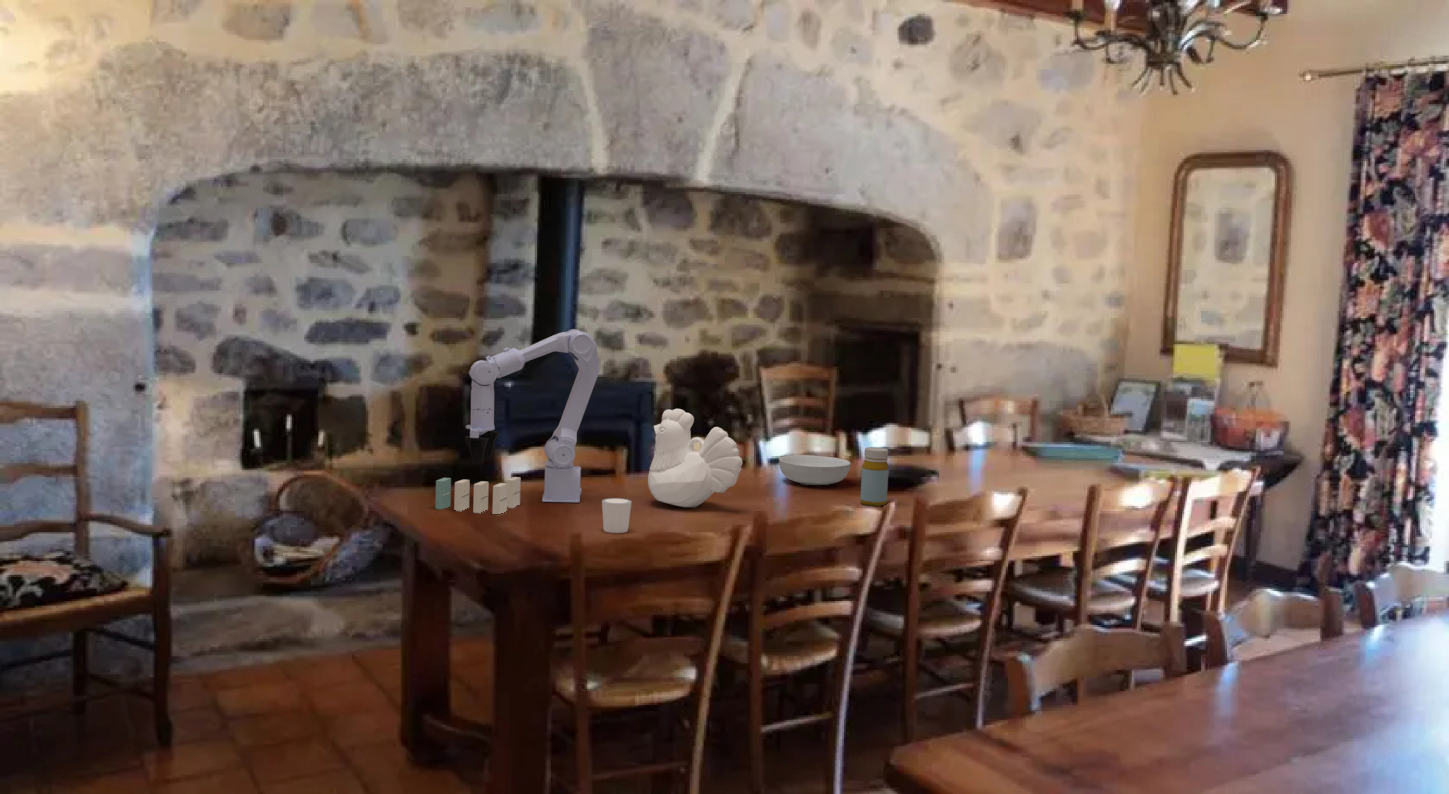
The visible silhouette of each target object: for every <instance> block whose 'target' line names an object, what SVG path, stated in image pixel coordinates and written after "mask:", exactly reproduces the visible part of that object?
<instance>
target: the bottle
mask: <svg viewBox="0 0 1449 794" xmlns="http://www.w3.org/2000/svg"><path fill="white" fill-rule="evenodd" d="M863 458H864V460H863V463H862V469H861V481H860V483H861V484H860V503H861V504H862V505H865V506H868V507H882V506H881V505H884V504H885V503H886V504H887V500H888V487H889V486H888V483H889V464H888V458H889V450H888V449H887V448H884V447H877V446H876V447H873V446H871V447H870V446H868V447H865V448H864V457H863ZM886 504H885V505H886ZM885 505H884V506H885Z"/></svg>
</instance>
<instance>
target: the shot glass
mask: <svg viewBox="0 0 1449 794" xmlns="http://www.w3.org/2000/svg"><path fill="white" fill-rule="evenodd" d="M601 506H602V507H601V508H602V510H601V511H602V524H603V527H602V528H603V531H604V532H606V533H611V534H612V533H613V534H620V533H621V534H623V533H627V532H628V531H629V524H630V516H631V510H632V500H630V499H627V498H619V497H617V498H616V497H613V498H612V497H611V498H604V499H602V500H601Z"/></svg>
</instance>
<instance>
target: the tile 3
mask: <svg viewBox="0 0 1449 794" xmlns="http://www.w3.org/2000/svg"><path fill="white" fill-rule="evenodd" d="M489 486H490V485H489V481H484V480H483V481H482V480H481V481H479V482H475V483H474V484H473V506H472V507H473V510H472V512H473V513H474V514H482V513H484V512H486V511H485V510H487V511H488V510H489ZM483 511H484V512H483ZM481 512H482V513H481Z"/></svg>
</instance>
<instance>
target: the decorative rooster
mask: <svg viewBox="0 0 1449 794" xmlns="http://www.w3.org/2000/svg"><path fill="white" fill-rule="evenodd" d="M694 422H695V417H694V415H693V414H691V413H689V412H686V411H685V410H684V409H681V408H675V409H665V410H664V411H663V413H662V415H661V422H660V423H659V424H655V425H653V429H654V433H655V437H654V439H655V440H654V441H655V444H654V450H655V452H654V456H653V459H652V461H651V464H650V466H649V472H648V475H647V485H648V489H649V491H650V493H651V495H652V496H653V497H654V498H655V500H657V501H658V502H662V503H665V504H669V505H673V506H676V507H677V506H678V507H682V508H697V507H698V506H701V504H702V503H704V502H706V501H707V500H708V499H709V498H710V497H711V496H712V495H713V494H714V493H721V494H724V493H725V492H726V491H727V490H728V489H729V488H731V487H734V485H736V484H737V482H738V481H737V480H738V478H739V474H740V473H741V471H742V465H743V459H742V458H741V457H740V456H739V454H740V450H739V449H738V444H737V443H736V441H734V439H732V437H729V434H728V431H726V430H724V429H723V428H721V427H719V426H715V427H713V428H711V430H710V431H709V433H708V434H707V435H706V437H705V439H703V438H702V437H699V436H696V437H693V438H691V437H692V435H691V429H692V426H693V424H694ZM696 443H698V444H699V445H700V448H699V450H695V448H694V447H695V444H696Z"/></svg>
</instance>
